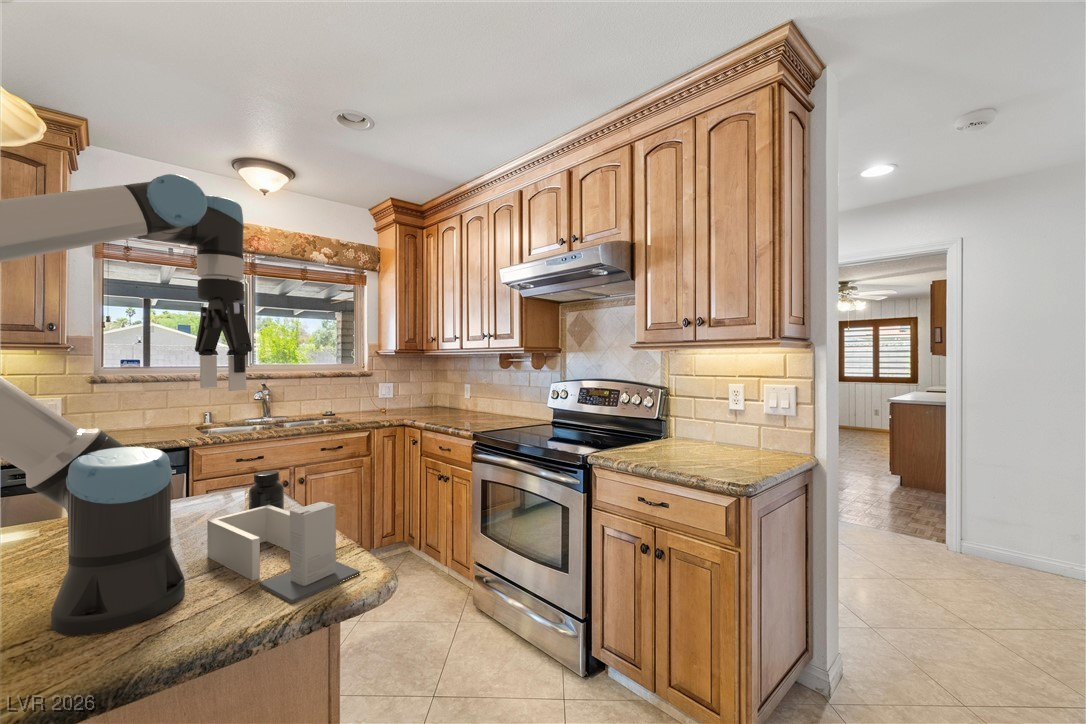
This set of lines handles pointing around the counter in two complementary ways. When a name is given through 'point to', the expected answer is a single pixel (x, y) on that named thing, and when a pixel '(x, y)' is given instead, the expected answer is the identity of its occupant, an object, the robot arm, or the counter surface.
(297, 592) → the mat
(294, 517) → the skincare box
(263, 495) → the supplement bottle
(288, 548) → the white u-shaped frame
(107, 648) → the counter surface
